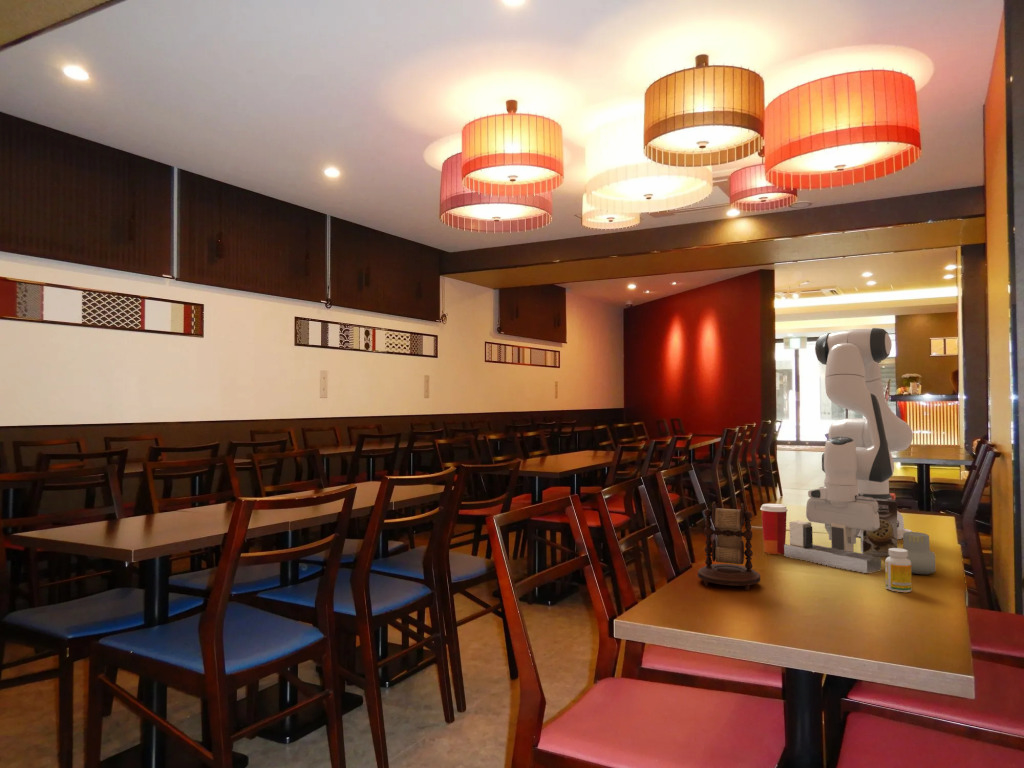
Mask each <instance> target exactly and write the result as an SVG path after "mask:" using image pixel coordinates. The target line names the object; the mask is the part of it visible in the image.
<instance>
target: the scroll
mask: <svg viewBox="0 0 1024 768" xmlns="http://www.w3.org/2000/svg"><path fill="white" fill-rule="evenodd" d="M703 513H704V516H705V517H704V519H706V520H705V523H704V525H705V528H704V530H703V533H704V535H705V538H706V539H705V545H706V546H705V547H704V552H705V556H706V558H705V561H704V562H705V564H706V565H704V566H702V567H701V568H699V569H698V570H697V578H698V579H700V580H702V581H703V582H704V586H705V587H709V583H711V584H716V585H721V586H722V585H723V586H733V587H735V586H738V587H739V586H743V587H744V589H745V591H749V589H750V585H756V584H759V583H760V582H761V574H760V573H759V572H757V571H756V570H755V569H753V563H752V561H751V560H752V559H753V558H752V556H753V554H754V553H753V550H752V548H753V547H752V540H753V531H752V524H751V522H752V517H753V514H752V512H751V511H750V510H747V511H745V505H744V503H741V506H740V509H735V508H721V507H720V508H717V504H716V501H713V502H712V506H711V509H710V508H706V509H705V510H704V512H703ZM712 524H713V525H714V528H716V529H714V530H713V528H712ZM743 526H744V529H745V530H743ZM713 535H715V536H717V539H716V538H713V539H711V538H712V536H713ZM743 537H744V540H745V543H744V541H743ZM716 541H717V542H716ZM745 548H746V549H745ZM744 560H746V561H745V564H744ZM713 562H716V563H715V564H713ZM743 564H744V565H743Z"/></svg>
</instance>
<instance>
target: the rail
mask: <svg viewBox="0 0 1024 768" xmlns="http://www.w3.org/2000/svg"><path fill="white" fill-rule="evenodd" d="M813 542H814V541H813V526H812V522H810V521H804V520H793V521H789V544H786V543H785V545H784V554H783V555H784V556H786V557H785V558H788V557H791V558H790V559H793V558H796V559H795V560H797V559H801V560H800V561H802V560H806V561H805V562H807V561H810V562H809V563H812V562H814V563H813V564H816V563H818V564H817V565H821V564H822V566H826V565H827V567H830V568H831V567H832V568H835V567H836V568H835V569H840V568H841V570H845V569H846V571H850V570H852V571H851V572H854V571H857V572H856V573H859V572H862V573H861V574H864V573H870V574H872V573H871V572H873V573H876V572H875V571H877V572H879V570H880V571H882V556H873V555H867V554H862V552H861V553H860V552H856V551H854V552H851V551H846V550H840V549H835V548H831V547H829V546H825V545H823V546H822V545H818V544H813Z"/></svg>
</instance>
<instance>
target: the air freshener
mask: <svg viewBox="0 0 1024 768" xmlns="http://www.w3.org/2000/svg"><path fill="white" fill-rule="evenodd" d="M902 539H903V540H902V545H903V546H902V548H901V549H905V550H907V551H908V557H907V559H909V560H910V561H911V574H913V575H930V574H934V573H935V572H936V570H937V569H936V567H937V566H936V553H935V552H933V551H931V550H930V536H929V535H928V534H927V533H925V532H920V531H918V532H917V531H916V532H915V531H912V532H905V533H904V534H903V538H902Z"/></svg>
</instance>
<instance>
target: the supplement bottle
mask: <svg viewBox="0 0 1024 768" xmlns="http://www.w3.org/2000/svg"><path fill="white" fill-rule="evenodd" d="M888 554H889V555H890V557H886V558H885V561H884V564H885V565H884V566H885V576H884V577H885V589H886V588H887V589H889V590H892V591H891V592H893V591H898V592H909V593H911V592H912V573H911V561H910V560H909V559H907V557H908V551H907V550H905V549H902V548H900V547H897V548H890V549H889V553H888ZM887 589H886V590H887ZM889 590H888V591H889ZM898 592H897V593H898Z"/></svg>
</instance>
